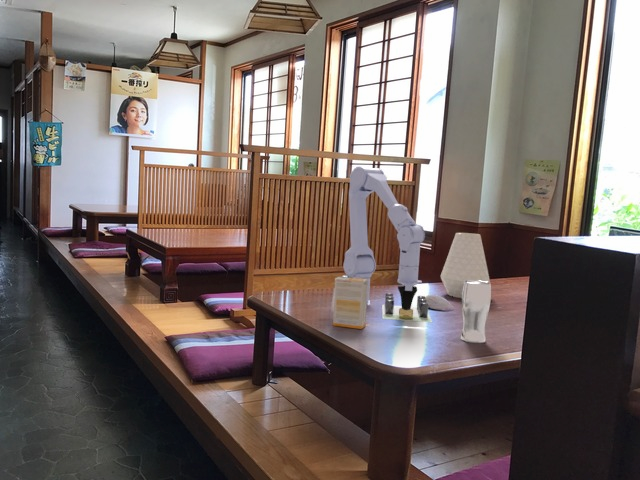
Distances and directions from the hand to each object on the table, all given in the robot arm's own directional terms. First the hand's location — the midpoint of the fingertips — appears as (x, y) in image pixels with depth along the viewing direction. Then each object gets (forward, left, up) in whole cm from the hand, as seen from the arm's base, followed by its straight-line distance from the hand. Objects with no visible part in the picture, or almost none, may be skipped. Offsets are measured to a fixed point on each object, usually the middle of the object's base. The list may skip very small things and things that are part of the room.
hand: (405, 310), depth 165 cm
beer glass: (+16, -22, -2) cm, 28 cm away
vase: (+23, +42, -2) cm, 48 cm away
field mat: (0, +2, -2) cm, 2 cm away
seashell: (+11, +14, -2) cm, 17 cm away
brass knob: (0, -6, -1) cm, 6 cm away
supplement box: (-16, -17, -2) cm, 24 cm away
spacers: (0, +4, -1) cm, 4 cm away
